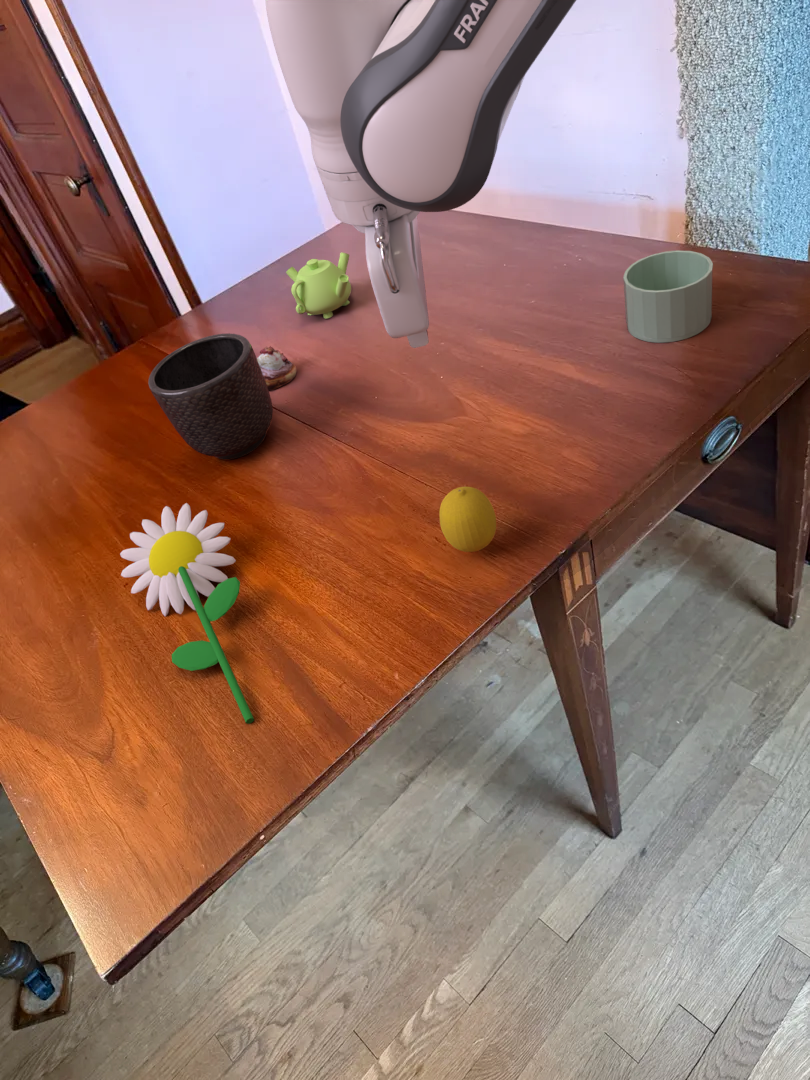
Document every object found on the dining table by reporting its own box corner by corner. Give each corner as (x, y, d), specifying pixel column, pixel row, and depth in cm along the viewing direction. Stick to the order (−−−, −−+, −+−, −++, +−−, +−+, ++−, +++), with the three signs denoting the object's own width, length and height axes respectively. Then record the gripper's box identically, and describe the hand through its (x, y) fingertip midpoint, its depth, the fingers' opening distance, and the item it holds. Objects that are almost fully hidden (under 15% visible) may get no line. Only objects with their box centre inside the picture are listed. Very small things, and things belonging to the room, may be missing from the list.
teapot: (295, 332, 124) (276, 285, 118) (298, 301, 132) (281, 256, 126) (359, 314, 122) (343, 265, 116) (359, 284, 131) (344, 237, 125)
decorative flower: (320, 696, 71) (219, 510, 90) (302, 673, 67) (201, 484, 86) (202, 771, 69) (125, 565, 88) (177, 751, 66) (102, 541, 84)
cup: (729, 312, 95) (731, 260, 90) (672, 351, 92) (671, 299, 88) (664, 293, 102) (663, 244, 98) (610, 329, 99) (606, 280, 95)
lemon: (445, 568, 76) (426, 511, 70) (454, 530, 79) (437, 472, 74) (498, 567, 74) (483, 508, 69) (505, 528, 78) (492, 469, 72)
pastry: (306, 367, 114) (295, 338, 111) (276, 396, 110) (263, 367, 107) (269, 362, 118) (257, 335, 115) (238, 390, 114) (225, 362, 111)
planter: (250, 479, 96) (207, 396, 88) (173, 470, 103) (125, 391, 94) (305, 414, 104) (270, 332, 96) (229, 409, 111) (190, 332, 102)
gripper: (421, 238, 55) (458, 375, 66) (406, 107, 67) (440, 242, 78) (340, 260, 56) (389, 391, 67) (339, 127, 68) (382, 257, 79)
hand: (416, 310), depth 72 cm, fingers open, 8 cm apart
